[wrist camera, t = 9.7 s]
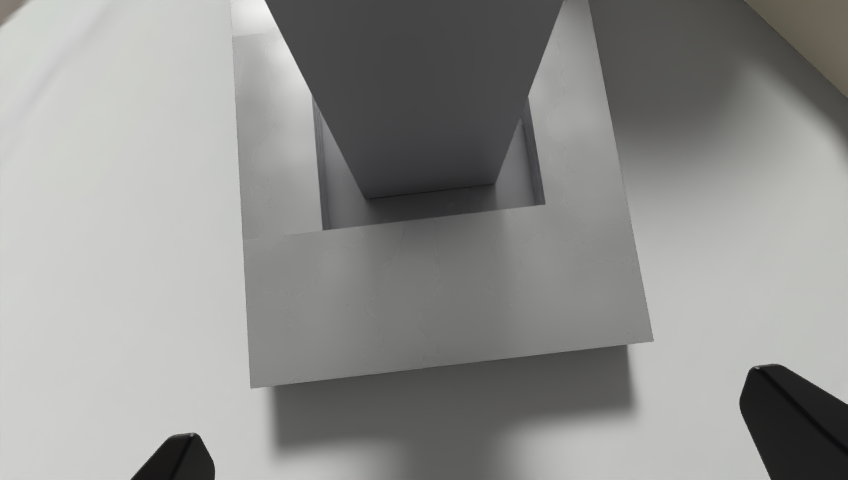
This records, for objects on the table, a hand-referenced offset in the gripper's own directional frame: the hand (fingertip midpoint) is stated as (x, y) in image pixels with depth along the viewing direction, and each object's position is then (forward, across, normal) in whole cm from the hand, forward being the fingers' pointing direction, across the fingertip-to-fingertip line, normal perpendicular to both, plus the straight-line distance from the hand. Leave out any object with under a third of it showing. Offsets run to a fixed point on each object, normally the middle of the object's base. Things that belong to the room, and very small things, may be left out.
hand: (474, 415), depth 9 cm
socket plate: (+13, 0, 0) cm, 13 cm away
